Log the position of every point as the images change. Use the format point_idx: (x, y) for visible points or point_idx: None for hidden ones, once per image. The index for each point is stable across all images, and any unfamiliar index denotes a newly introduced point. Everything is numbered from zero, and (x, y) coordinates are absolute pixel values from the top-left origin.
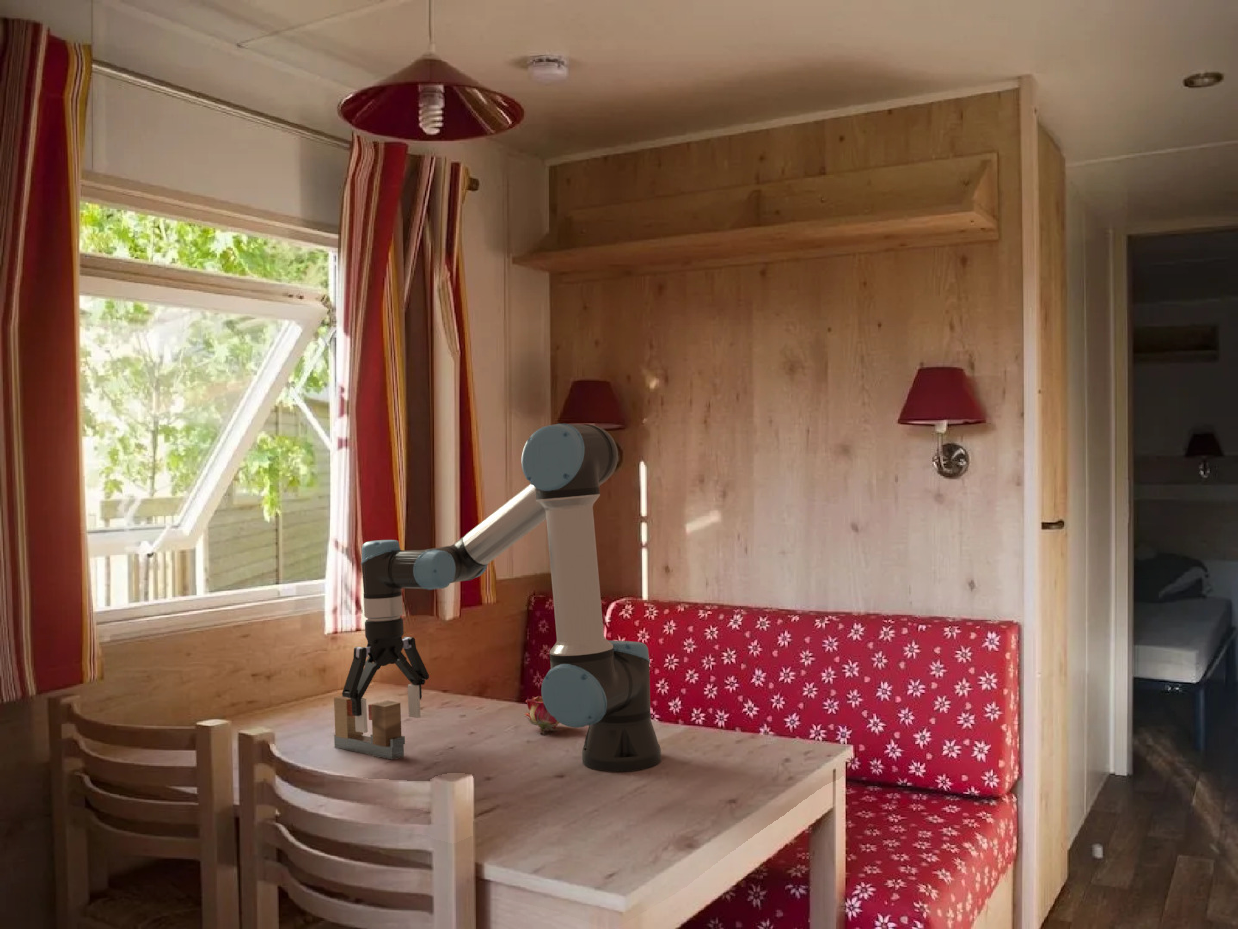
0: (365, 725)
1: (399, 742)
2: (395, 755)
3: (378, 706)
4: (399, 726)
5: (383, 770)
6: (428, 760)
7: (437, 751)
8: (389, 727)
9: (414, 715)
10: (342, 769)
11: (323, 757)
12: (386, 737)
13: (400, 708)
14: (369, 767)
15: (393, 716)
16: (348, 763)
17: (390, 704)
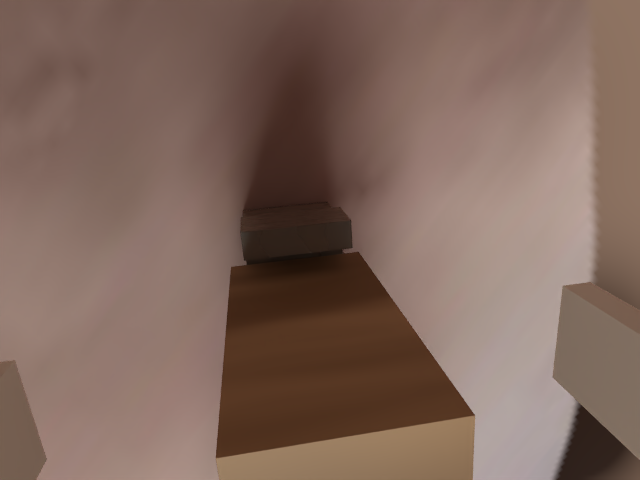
0: (620, 309)
1: (288, 218)
2: (306, 207)
3: None
4: (245, 312)
5: (477, 72)
6: (192, 16)
7: (31, 142)
8: (351, 305)
9: (17, 411)
10: (560, 259)
11: (474, 474)
12: (366, 275)
13: (220, 409)
14: (477, 184)
15: (319, 353)
16: (482, 322)
17: (360, 461)
